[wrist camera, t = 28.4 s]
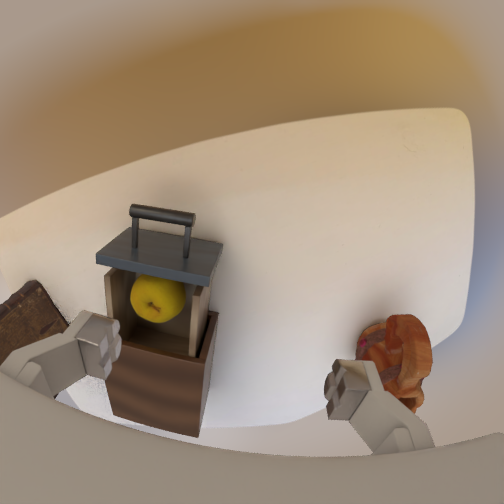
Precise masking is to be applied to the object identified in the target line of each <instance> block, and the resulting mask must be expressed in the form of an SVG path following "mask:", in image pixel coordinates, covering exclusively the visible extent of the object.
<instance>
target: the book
mask: <svg viewBox="0 0 504 504" xmlns="http://www.w3.org/2000/svg"><path fill="white" fill-rule="evenodd" d="M68 327H69V325H68V323H67V322H66V321H65V320H64V318H63V317H62V316H61V314H60V313H59V312H58V310H57V309H56V307H55V306H54V304H53V303H52V301H51V299H50V297H49V295H48V294H47V292H46V291H45V289H44V288H43V286H42V285H41V284H39V283H38V282H37V281H28V282H27V283H25V285H24V286H23V287H22V288H21V289H20V290H18V291H17V292H16V293H14V294H12V295H11V296H10V298H9V299H8V300H6V301H5V302H4V303H3V304H0V366H1V365H2V363H3V362H4V361H5V360H6V359H7V357H8V356H9V355H10V354H11V352H12V351H14V350H17V349H19V348H22V347H25V346H27V345H30V344H32V343H35V342H37V341H40V340H43V339H45V338H48V337H50V336H53V335H56V334H58V333H61V334H63V333H64V332H65V330H66V329H67V328H68ZM57 395H58V394H56V395H54V396H53V397H54V399H55V398H56V397H57Z"/></svg>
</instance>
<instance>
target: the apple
mask: <svg viewBox="0 0 504 504" xmlns="http://www.w3.org/2000/svg"><path fill="white" fill-rule="evenodd" d="M130 300H131V304H132V306H133V308H134V310H135V311H136V313H137V314H138V315H139V316H141V317H142V318H144V319H146V320H149V321H151V322H156V323H162V322H166V321H168V320H170V319H172V318H173V317H175V316H176V315H178V314H179V313H180V312H181V311H182V309H183V307H184V305H185V302H186V291H185V287H184V284H183V282H179V281H174V280H169V279H165V278H160V277H155V276H150V275H145V274H141V275H140V276H139V277H138V278H137V280H136V281H135V283H134V284H133V287H132V289H131V295H130Z"/></svg>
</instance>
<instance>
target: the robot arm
mask: <svg viewBox="0 0 504 504" xmlns="http://www.w3.org/2000/svg"><path fill="white" fill-rule="evenodd" d="M119 330H120V324H119V321H118V320H116V319H113V318H109V317H106V316H103V315H99V314H96V313H92V312H89V311H86V310H83V311H81V312H80V313H79V315H78V316H77V317H76V318H75V319H74V321H73V322H72V323H71V324H70V325H69V327H68V328H67V329H66V330H65V332H64V333H63V334H61V333H58V334H56V335H53V336H50V337H48V338H45V339H43V340H40V341H37V342H35V343H32V344H30V345H27V346H25V347H22V348H19V349H17V350H14V351H12V352H11V354H10V355H9V356H8V357H7V359H6V360H5V361H4V362H3V363H2V365H1V366H0V504H504V434H503V433H493V434H490V435H486V436H482V437H479V438H475V439H472V440H467V441H463V442H459V443H454V444H449V445H444V446H439V447H435V445H434V443H433V440H432V437H431V434H430V431H429V429H428V426H427V424H426V423H424V422H423V421H422V420H421V419H420V418H419V417H418V416H416V415H415V414H414V413H413V412H412V411H411V410H409V409H408V408H407V407H406V406H405V405H404V404H402V403H401V402H400V401H399V400H398V399H397V398H395V397H394V396H393V395H392V394H391V393H390V392H388V391H384V388H383V385H382V382H381V379H380V377H379V374H378V371H377V369H376V366H375V363H374V362H373V361H358V360H344V359H336V360H335V361H334V363H333V365H332V369H333V371H332V372H331V373H329V374H328V376H327V378H326V380H325V385H324V395H325V398H326V399H327V400H328V401H329V402H328V404H327V405H326V408H327V414H328V419H331V420H349V423H350V424H351V425H352V426H353V428H354V429H355V430H356V431H357V433H358V434H359V435H360V436H361V438H362V439H363V440H364V441H365V443H366V444H367V445H368V446H369V448H370V449H371V450H372V451H373V453H372V454H371V455H367V456H348V457H347V456H346V457H304V456H283V455H269V454H258V453H249V452H240V451H233V450H226V449H220V448H213V447H208V446H202V445H197V444H192V443H187V442H182V441H178V440H174V439H170V438H165V437H161V436H157V435H154V434H150V433H146V432H143V431H139V430H136V429H132V428H129V427H126V426H123V425H119V424H116V423H113V422H110V421H107V420H105V419H102V418H99V417H96V416H93V415H91V414H88V413H85V412H83V411H80V410H78V409H75V408H73V407H70V406H68V405H66V404H63V403H61V402H59V401H56V400H55V399H54V397H53V396H54V395H56V394H58V393H59V392H61V391H62V390H64V389H66V388H67V387H69V386H70V385H72V384H73V383H75V382H77V381H78V380H80V379H81V378H83V377H85V376H86V374H87V375H90V376H94V377H97V378H100V379H103V380H106V379H107V377H108V375H109V374H110V372H111V370H112V362H114V361H116V360H117V359H118V357H119V355H120V351H121V344H122V342H121V337H120V335H119V334H118V331H119Z"/></svg>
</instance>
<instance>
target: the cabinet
mask: <svg viewBox="0 0 504 504" xmlns="http://www.w3.org/2000/svg"><path fill="white" fill-rule="evenodd" d="M218 316H219V313H216V312H211V311H208V316H207V325H206V335H205V339H204V342H203V346H202V349H201V353H200V356H199V358H195V357H190V356H185V355H181V354H176V353H172V352H168V351H163V350H159V349H155V348H151V347H147V346H143V345H140V344H136V343H132V342H128V341H125V340H121V342H122V344H121V351H120V355H119V357H118V359H117V360H116V361H114V362H112V370H111V372H110V374H109V375H108V377H107V379H106V380H105V384H106V388H107V392H108V396H109V400H110V404H111V408H112V412H113V415H115V416H118V417H121V418H124V419H127V420H130V421H133V422H137V423H140V424H143V425H147V426H151V427H154V428H158V429H162V430H166V431H170V432H174V433H178V434H182V435H187V436H192V437H196V438H198V437H199V432H200V428H201V423H202V419H203V414H204V410H205V405H206V401H207V396H208V392H209V386H210V378H211V370H212V362H213V354H214V346H215V338H216V331H217V323H218Z"/></svg>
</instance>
